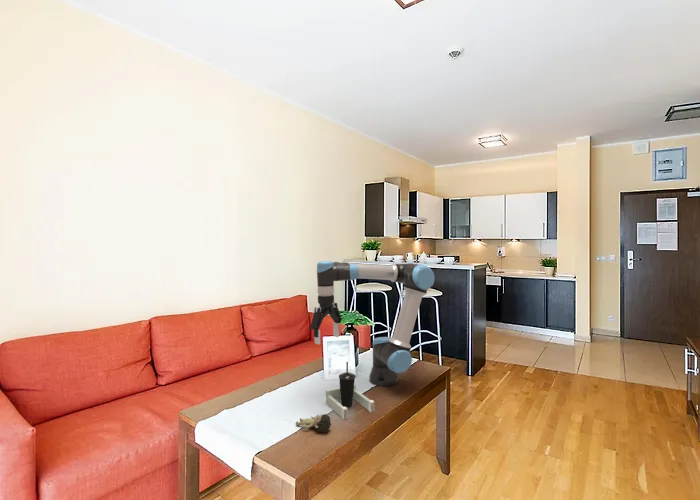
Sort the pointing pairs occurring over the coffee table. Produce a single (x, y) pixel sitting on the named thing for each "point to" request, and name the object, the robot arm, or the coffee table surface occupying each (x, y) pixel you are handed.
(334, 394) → the bay
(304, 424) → the figurine
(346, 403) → the drinking cup
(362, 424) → the coffee table surface
